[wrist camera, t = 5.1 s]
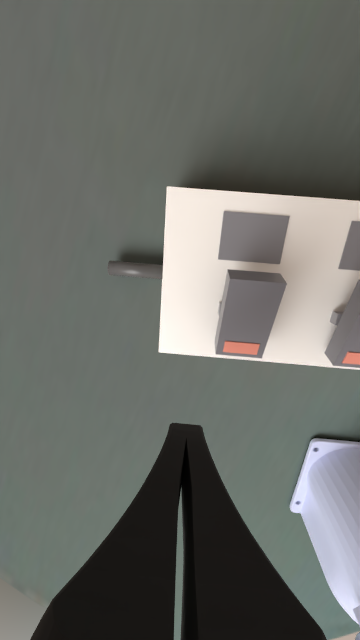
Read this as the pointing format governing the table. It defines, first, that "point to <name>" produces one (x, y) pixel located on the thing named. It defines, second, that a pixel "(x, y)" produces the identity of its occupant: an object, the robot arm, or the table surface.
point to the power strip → (254, 267)
